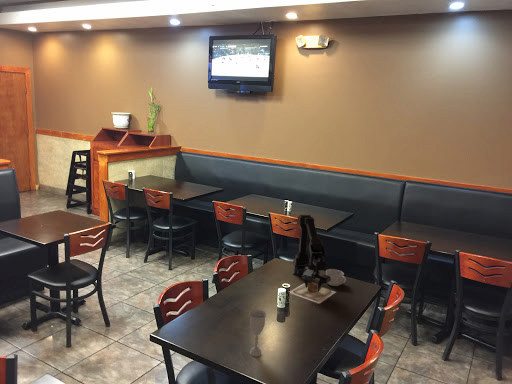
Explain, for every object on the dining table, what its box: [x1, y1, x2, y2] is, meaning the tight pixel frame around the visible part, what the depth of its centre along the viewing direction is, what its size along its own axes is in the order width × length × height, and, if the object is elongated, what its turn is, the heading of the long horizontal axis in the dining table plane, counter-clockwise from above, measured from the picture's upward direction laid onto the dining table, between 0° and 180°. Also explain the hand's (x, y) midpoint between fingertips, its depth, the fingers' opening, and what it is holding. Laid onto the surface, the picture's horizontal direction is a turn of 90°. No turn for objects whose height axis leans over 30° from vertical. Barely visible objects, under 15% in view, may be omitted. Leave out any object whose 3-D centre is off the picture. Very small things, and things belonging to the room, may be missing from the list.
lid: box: [293, 281, 333, 301], centre depth 235 cm, size 16×16×5 cm
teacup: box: [325, 268, 347, 287], centre depth 247 cm, size 14×11×8 cm
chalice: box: [248, 309, 267, 357], centre depth 173 cm, size 7×7×18 cm
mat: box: [289, 282, 337, 305], centre depth 236 cm, size 20×20×1 cm
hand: (312, 289), depth 235 cm, fingers open, 7 cm apart
